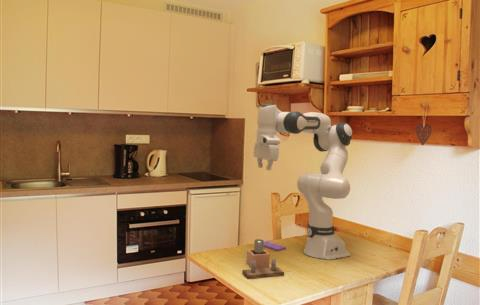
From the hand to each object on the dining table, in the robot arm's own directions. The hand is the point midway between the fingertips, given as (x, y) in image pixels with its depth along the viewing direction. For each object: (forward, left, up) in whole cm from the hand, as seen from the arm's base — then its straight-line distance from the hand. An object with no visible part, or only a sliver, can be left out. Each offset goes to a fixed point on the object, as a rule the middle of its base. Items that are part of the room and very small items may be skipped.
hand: (264, 168), depth 185 cm
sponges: (-12, -11, -42) cm, 45 cm away
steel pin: (+6, +12, -40) cm, 42 cm away
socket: (+6, +12, -41) cm, 43 cm away
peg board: (+8, +22, -41) cm, 47 cm away
